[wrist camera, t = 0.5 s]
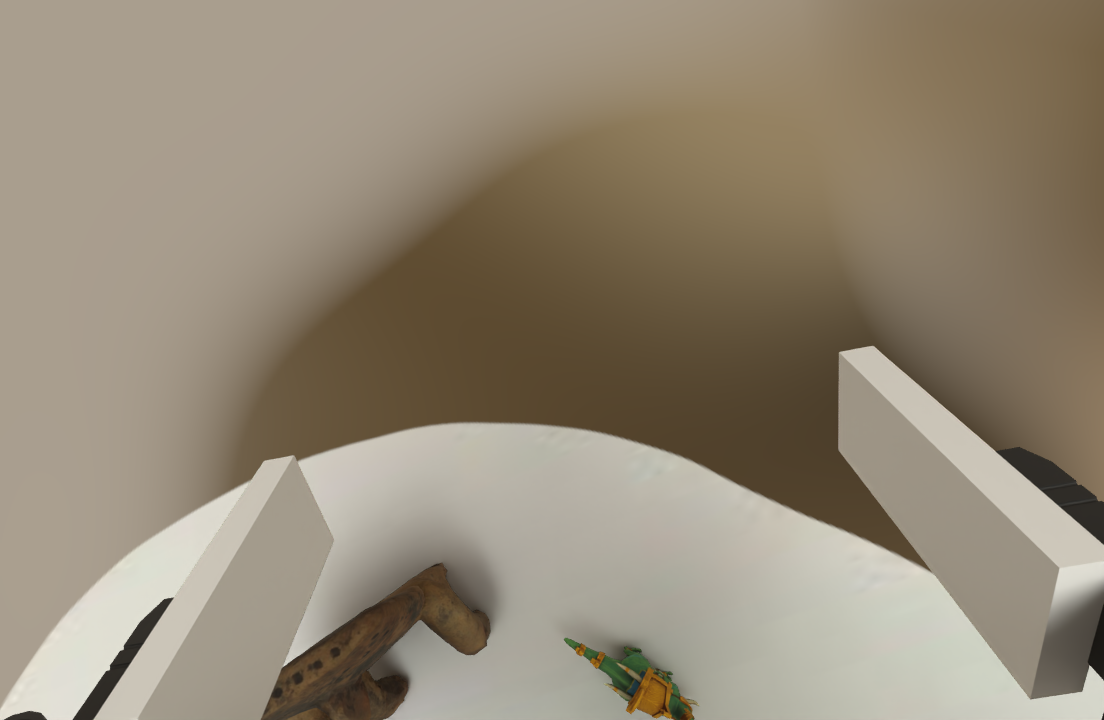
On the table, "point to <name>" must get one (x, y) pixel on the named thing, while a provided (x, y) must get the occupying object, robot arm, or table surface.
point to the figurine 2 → (640, 683)
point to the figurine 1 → (373, 654)
